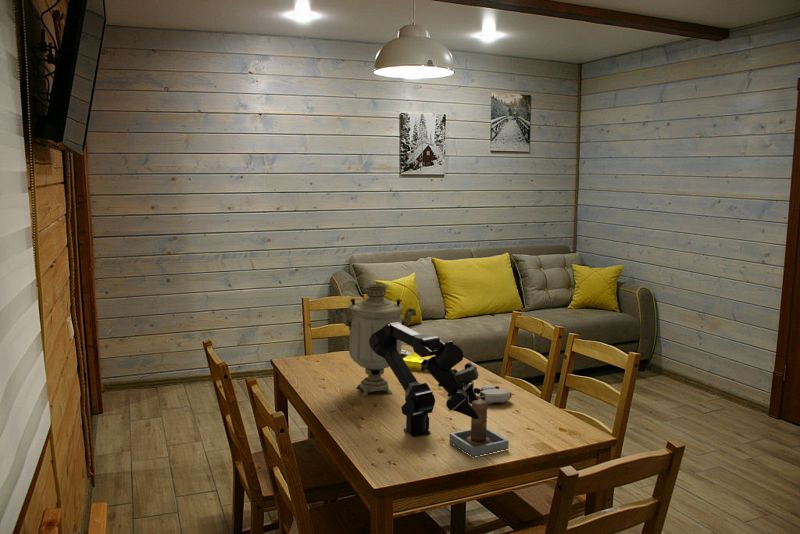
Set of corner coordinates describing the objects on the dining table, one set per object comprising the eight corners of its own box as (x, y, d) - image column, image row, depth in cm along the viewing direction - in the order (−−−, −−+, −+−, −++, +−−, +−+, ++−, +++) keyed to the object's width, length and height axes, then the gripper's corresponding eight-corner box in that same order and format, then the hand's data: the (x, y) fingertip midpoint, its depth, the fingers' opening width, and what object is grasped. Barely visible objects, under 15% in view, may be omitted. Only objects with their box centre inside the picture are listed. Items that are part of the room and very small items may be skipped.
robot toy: (468, 397, 248) (484, 407, 234) (468, 384, 248) (484, 394, 234) (499, 394, 252) (516, 404, 237) (499, 382, 251) (516, 392, 237)
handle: (475, 450, 196) (476, 408, 194) (462, 442, 202) (463, 400, 200) (494, 446, 199) (496, 404, 197) (481, 438, 205) (482, 397, 203)
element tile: (445, 364, 288) (445, 354, 288) (433, 374, 275) (433, 362, 274) (413, 360, 294) (413, 349, 293) (400, 369, 280) (400, 358, 280)
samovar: (418, 379, 265) (419, 280, 260) (412, 401, 240) (414, 291, 234) (344, 376, 268) (344, 278, 263) (331, 397, 242) (330, 289, 237)
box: (473, 458, 192) (473, 448, 192) (449, 442, 203) (449, 433, 203) (508, 450, 198) (508, 440, 197) (483, 435, 209) (483, 426, 208)
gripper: (458, 365, 189) (496, 406, 188) (467, 349, 207) (501, 386, 206) (430, 390, 192) (467, 430, 191) (441, 371, 210) (475, 408, 209)
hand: (479, 412), depth 199 cm, fingers open, 9 cm apart
